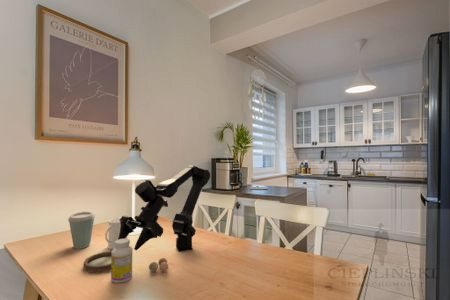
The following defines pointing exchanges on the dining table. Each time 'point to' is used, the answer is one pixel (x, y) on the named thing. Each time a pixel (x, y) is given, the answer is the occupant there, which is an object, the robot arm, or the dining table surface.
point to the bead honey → (162, 261)
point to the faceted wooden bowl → (98, 263)
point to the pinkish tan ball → (163, 267)
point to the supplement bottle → (121, 261)
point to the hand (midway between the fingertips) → (126, 247)
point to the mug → (113, 232)
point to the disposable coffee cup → (81, 228)
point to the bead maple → (153, 266)
